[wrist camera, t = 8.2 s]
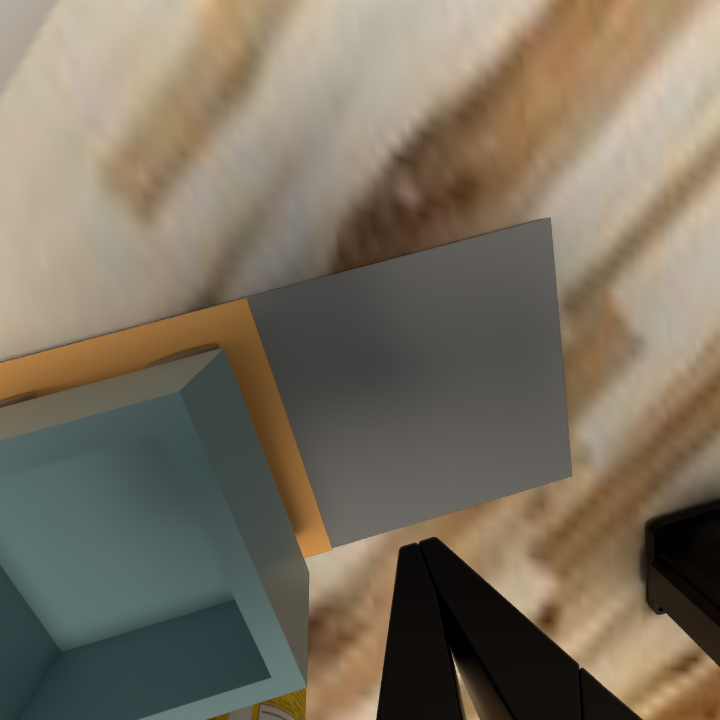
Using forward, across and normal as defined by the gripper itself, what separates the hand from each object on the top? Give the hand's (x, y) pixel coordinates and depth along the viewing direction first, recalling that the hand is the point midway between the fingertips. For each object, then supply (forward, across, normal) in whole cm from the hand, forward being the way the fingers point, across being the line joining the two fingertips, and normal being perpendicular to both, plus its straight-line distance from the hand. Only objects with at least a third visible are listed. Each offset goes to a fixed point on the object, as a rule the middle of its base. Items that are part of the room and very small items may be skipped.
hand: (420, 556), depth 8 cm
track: (+8, +3, 0) cm, 9 cm away
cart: (+8, +9, 0) cm, 12 cm away
